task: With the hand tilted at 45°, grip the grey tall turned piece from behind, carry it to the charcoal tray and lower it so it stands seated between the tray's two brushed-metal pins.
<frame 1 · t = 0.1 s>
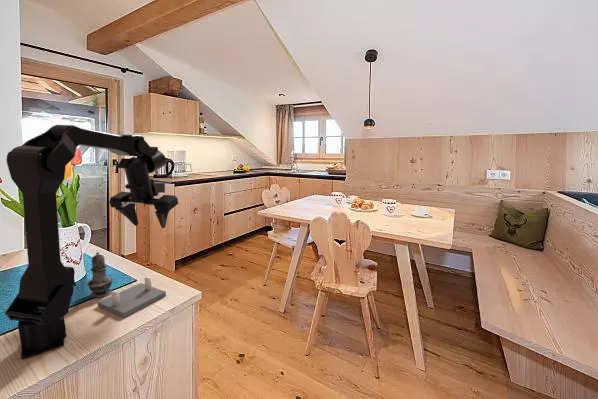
hand: (150, 226, 91), 15 cm above the table, tool pointing down, fingers open, 9 cm apart
grey tall turned piece: (101, 294, 81), on the table
pin tray: (133, 300, 78), on the table
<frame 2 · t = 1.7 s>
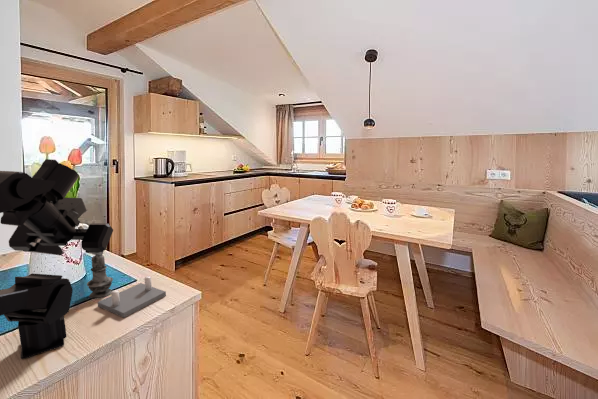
hand: (81, 253, 72), 14 cm above the table, tool tilted 40°, fingers open, 9 cm apart
nothing on the table moved.
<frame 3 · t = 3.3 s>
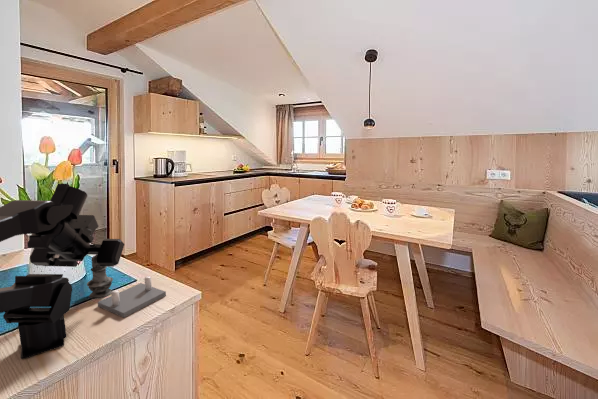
hand: (95, 264, 78), 9 cm above the table, tool tilted 45°, fingers open, 9 cm apart
nothing on the table moved.
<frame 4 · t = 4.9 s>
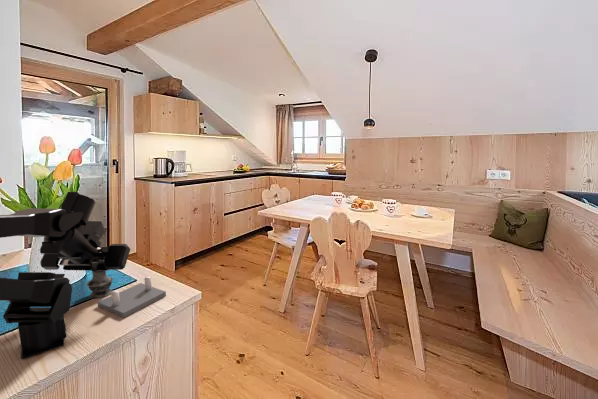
hand: (102, 268, 81), 7 cm above the table, tool tilted 45°, fingers closed on grey tall turned piece, 4 cm apart
grey tall turned piece: (101, 294, 81), on the table, touching gripper
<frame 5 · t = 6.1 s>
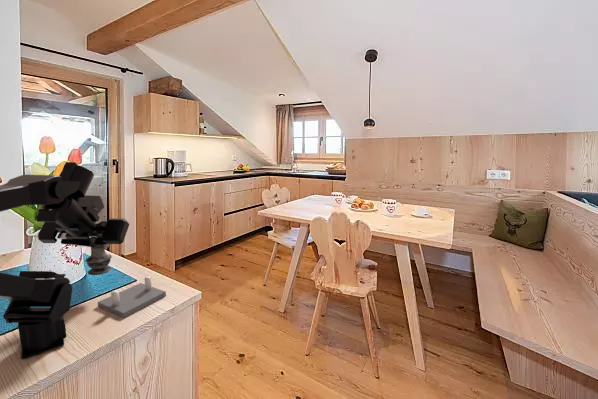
hand: (100, 245, 80), 13 cm above the table, tool tilted 45°, fingers closed on grey tall turned piece, 4 cm apart
grey tall turned piece: (99, 271, 80), point 6 cm above the table, touching gripper
when the fingers open (9 cm above the table, at t = 7.8 s): grey tall turned piece drops 1 cm, resting on pin tray.
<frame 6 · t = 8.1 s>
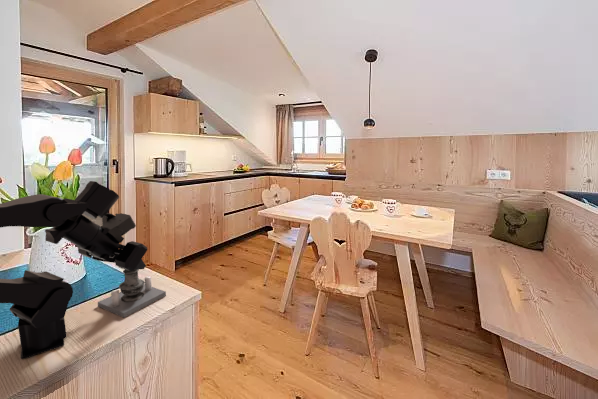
hand: (136, 264, 78), 10 cm above the table, tool tilted 45°, fingers open, 6 cm apart
grey tall turned piece: (132, 297, 78), point 1 cm above the table, touching pin tray
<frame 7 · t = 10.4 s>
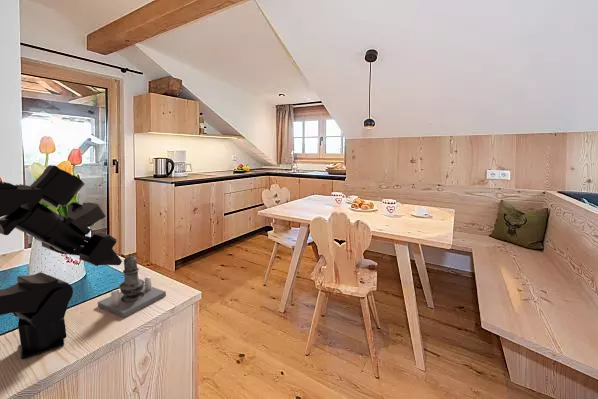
hand: (108, 259, 71), 14 cm above the table, tool tilted 45°, fingers open, 9 cm apart
nothing on the table moved.
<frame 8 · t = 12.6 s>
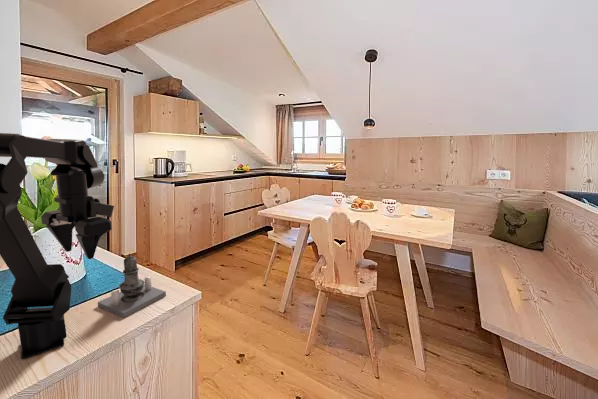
hand: (79, 254, 74), 13 cm above the table, tool pointing down, fingers open, 9 cm apart
nothing on the table moved.
at the end: grey tall turned piece 0.1 cm off-centre on the pin tray, point 1.0 cm above the pin tray's base; grey tall turned piece tilted 0°; the gripper is holding nothing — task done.
